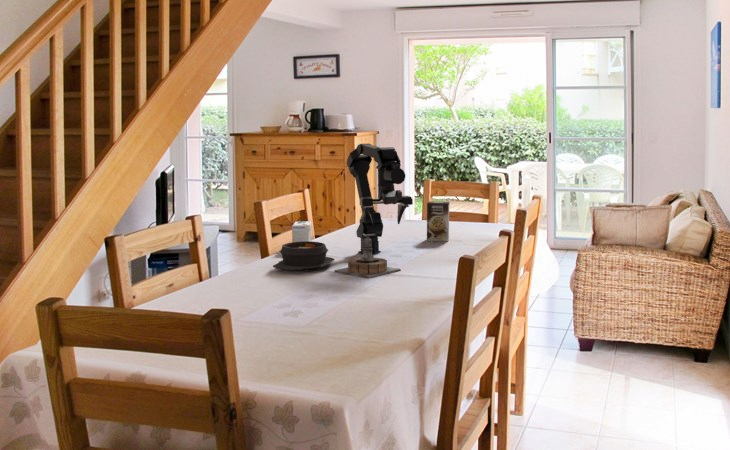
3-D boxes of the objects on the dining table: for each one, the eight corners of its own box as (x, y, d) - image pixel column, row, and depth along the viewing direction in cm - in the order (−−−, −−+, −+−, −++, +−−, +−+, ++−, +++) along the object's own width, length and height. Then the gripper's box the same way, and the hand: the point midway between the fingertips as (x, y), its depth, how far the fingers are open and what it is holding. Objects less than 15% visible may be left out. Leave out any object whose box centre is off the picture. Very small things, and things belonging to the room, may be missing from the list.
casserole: (306, 259, 302) (305, 237, 300) (346, 265, 291) (346, 241, 290) (260, 271, 281) (259, 247, 280) (302, 277, 271) (301, 252, 269)
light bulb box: (295, 247, 327) (294, 221, 325) (312, 247, 327) (311, 220, 325) (292, 252, 317) (291, 225, 315) (309, 252, 316) (308, 224, 315)
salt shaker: (374, 271, 276) (374, 236, 274) (357, 270, 277) (357, 235, 275) (377, 267, 282) (377, 233, 280) (360, 267, 283) (360, 233, 281)
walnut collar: (334, 271, 279) (334, 261, 278) (366, 264, 290) (366, 254, 290) (369, 278, 268) (368, 267, 267) (400, 270, 280) (400, 260, 279)
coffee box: (426, 241, 337) (426, 202, 335) (427, 238, 344) (427, 200, 341) (448, 241, 336) (448, 203, 333) (449, 239, 342) (449, 201, 340)
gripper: (364, 184, 286) (365, 228, 288) (416, 183, 289) (416, 226, 292) (358, 182, 297) (359, 224, 299) (408, 180, 300) (409, 222, 303)
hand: (386, 224), depth 298 cm, fingers open, 9 cm apart
